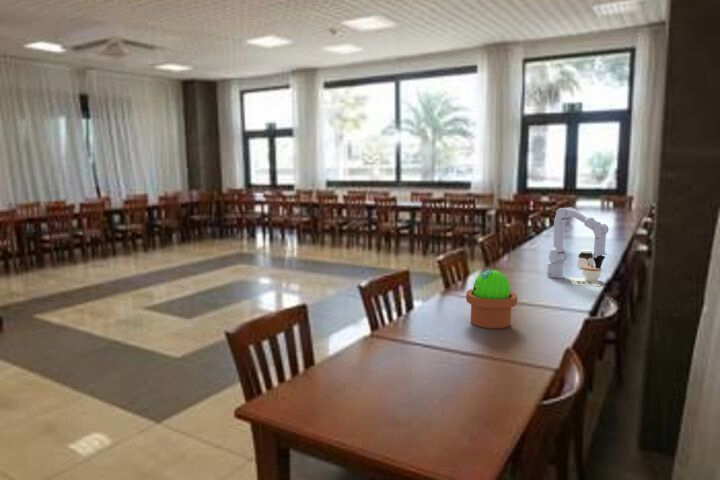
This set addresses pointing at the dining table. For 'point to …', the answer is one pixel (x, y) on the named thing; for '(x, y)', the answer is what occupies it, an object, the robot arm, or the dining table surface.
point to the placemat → (583, 282)
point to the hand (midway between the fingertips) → (598, 268)
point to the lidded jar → (591, 272)
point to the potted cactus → (491, 300)
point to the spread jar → (585, 258)
